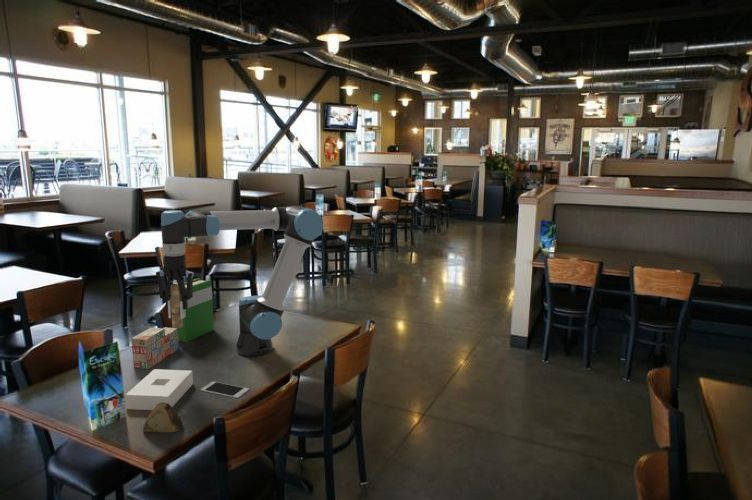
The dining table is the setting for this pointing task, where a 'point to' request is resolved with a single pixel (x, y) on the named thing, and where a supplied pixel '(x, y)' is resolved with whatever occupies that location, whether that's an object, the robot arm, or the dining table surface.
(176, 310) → the beech peg
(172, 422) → the rock
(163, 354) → the stack of blocks
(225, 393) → the smartphone
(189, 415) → the dining table surface
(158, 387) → the hole board
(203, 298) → the hardback book
